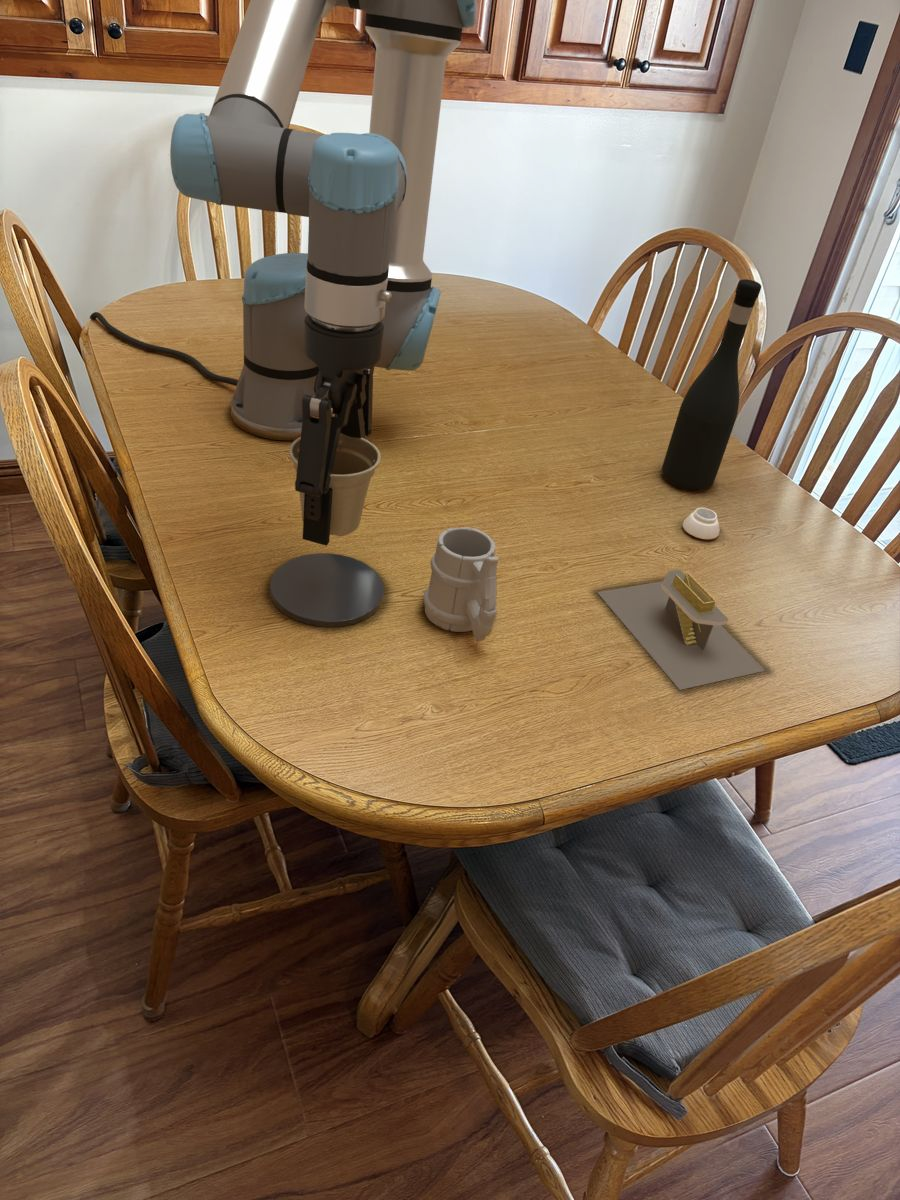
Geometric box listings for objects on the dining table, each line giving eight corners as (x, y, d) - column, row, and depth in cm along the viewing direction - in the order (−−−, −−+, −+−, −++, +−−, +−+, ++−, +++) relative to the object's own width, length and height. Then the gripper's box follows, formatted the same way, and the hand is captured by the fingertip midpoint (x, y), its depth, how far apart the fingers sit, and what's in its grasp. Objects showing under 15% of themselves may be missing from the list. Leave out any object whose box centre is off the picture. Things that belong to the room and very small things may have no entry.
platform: (679, 689, 102) (697, 644, 99) (596, 592, 115) (609, 548, 111) (765, 670, 107) (785, 626, 103) (676, 578, 120) (691, 536, 116)
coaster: (250, 607, 104) (250, 602, 104) (297, 547, 114) (297, 542, 114) (360, 639, 102) (361, 634, 102) (398, 576, 112) (399, 570, 112)
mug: (471, 588, 112) (486, 503, 105) (514, 651, 104) (534, 563, 97) (412, 597, 109) (423, 510, 102) (451, 663, 101) (467, 573, 94)
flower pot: (360, 554, 98) (367, 483, 93) (274, 535, 99) (276, 463, 94) (383, 510, 106) (390, 442, 100) (303, 492, 106) (306, 423, 101)
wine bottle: (656, 463, 144) (715, 268, 126) (707, 470, 145) (772, 276, 127) (664, 490, 138) (727, 288, 120) (717, 497, 138) (787, 297, 120)
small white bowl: (679, 534, 128) (715, 545, 127) (685, 516, 127) (722, 527, 126) (684, 517, 132) (719, 528, 131) (690, 500, 130) (726, 510, 129)
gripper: (341, 365, 80) (327, 580, 93) (416, 293, 96) (395, 485, 110) (259, 345, 81) (257, 561, 94) (347, 278, 98) (335, 469, 111)
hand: (331, 520), depth 102 cm, fingers closed on flower pot, 8 cm apart
